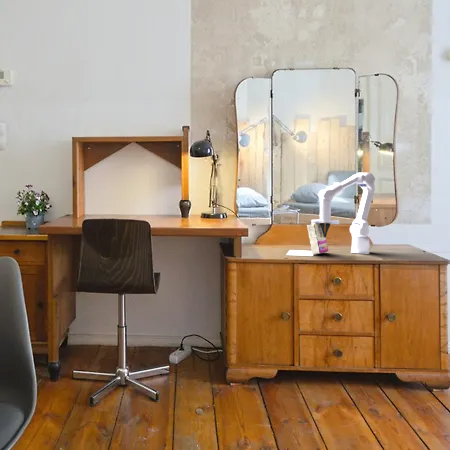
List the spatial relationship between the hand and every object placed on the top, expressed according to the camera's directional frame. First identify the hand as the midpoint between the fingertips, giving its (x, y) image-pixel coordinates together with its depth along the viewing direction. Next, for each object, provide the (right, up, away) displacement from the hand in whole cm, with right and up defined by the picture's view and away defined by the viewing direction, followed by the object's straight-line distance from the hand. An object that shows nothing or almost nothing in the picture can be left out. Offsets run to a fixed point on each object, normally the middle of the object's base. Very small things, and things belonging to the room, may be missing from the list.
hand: (324, 237), depth 240 cm
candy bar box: (-2, -9, +2) cm, 9 cm away
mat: (-12, -9, +4) cm, 16 cm away
